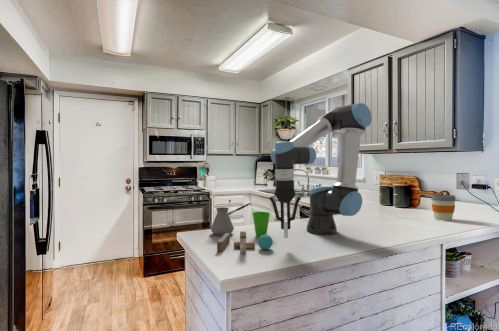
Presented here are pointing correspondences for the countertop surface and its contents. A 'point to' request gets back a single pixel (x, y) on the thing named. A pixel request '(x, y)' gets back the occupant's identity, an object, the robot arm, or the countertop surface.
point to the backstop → (223, 242)
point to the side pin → (242, 242)
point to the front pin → (248, 245)
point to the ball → (265, 242)
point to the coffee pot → (223, 221)
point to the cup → (261, 222)
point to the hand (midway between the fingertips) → (286, 236)
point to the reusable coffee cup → (443, 206)
